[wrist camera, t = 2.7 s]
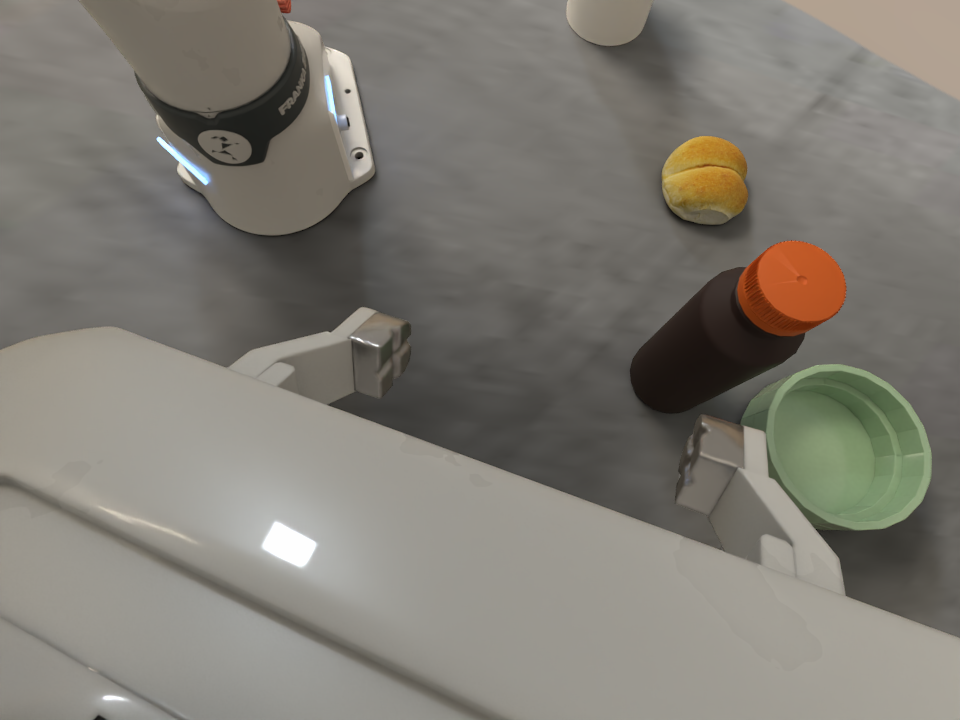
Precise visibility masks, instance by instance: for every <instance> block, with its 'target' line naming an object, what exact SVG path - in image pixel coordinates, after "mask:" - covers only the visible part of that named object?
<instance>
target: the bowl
mask: <svg viewBox="0 0 960 720" xmlns="http://www.w3.org/2000/svg"><path fill="white" fill-rule="evenodd" d="M740 425H741V426H742V425H744V426H747V427H751V428H754V429H758V430H761V431H764V432H765V434H766V444H767V459H768V473H769V478H772V479H775V480H776V482H777V483H778V484H779V485H780V487H781V488H782V489H783V490H784V491H785V493H786V494H787V495H788V496H789V498H790V499H791V500H792V501H793V502H794V504H795V505H796V506H797V507H798V509H799V510H800V511H801V512H802V514H803V515H804V516H805V517H806V518H807V520H808V521H809V522H810V523H811V525H812V526H813V527H814V528H815V529H819V530H877V529H884V528H887V527H889V526H891V525H893V524H896V523H898V522H900V521H903V520H905V519H906V518H907V517H908V516H909V515H910V514H911V513H912V512H913V511H914V510H915V509H916V508H917V507H918V506H919V504H920V503H921V502H922V501H923V498H924V496H925V493H926V491H927V488H928V486H929V483H930V480H931V463H932V453H931V449H930V445H929V442H928V439H927V435H926V432H925V428H924V426H923V424H922V423H921V421H920V420H919V418H918V416H917V415H916V413H915V411H914V410H913V408H912V406H911V405H910V404H909V402H908V401H907V400H906V399H905V398H903V397H902V396H901V395H900V394H899V393H898V392H897V391H896V390H895V389H894V388H893V387H892V386H891V385H890V384H889V383H887V382H885V381H883V380H882V379H880V378H878V377H876V376H875V375H873V374H871V373H869V372H868V371H865V370H861V369H858V368H854V367H850V366H846V365H842V364H832V365H816V366H813V367H810V368H808V369H805V370H803V371H800V372H797V373H795V374H793V375H791V376H788V377H786V378H784V379H782V380H779V381H777V382H775V383H773V384H771V385H768V386H766V387H765V388H764V389H763V390H762V391H761V392H759V393H758V394H757V395H756V396H755V397H754V398H753V399H752V400H751V401H750V403H749V405H748V407H747V409H746V411H745V413H744V415H743V417H742V419H741V424H740Z"/></svg>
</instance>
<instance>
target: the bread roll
mask: <svg viewBox="0 0 960 720" xmlns="http://www.w3.org/2000/svg"><path fill="white" fill-rule="evenodd" d="M746 174H747V163H746V161H745V158H744V156H743V154H742V153H741V151H740V150H739V149H738V148H737V147H736V146H734V145H733V144H732V143H730V142H728V141H726V140H724V139H721V138H717V137H711V136H701V137H696V138H693V139H691V140H689V141H687V142H685V143H684V144H682V145H681V146H680V147H678V148H677V149H676V150H675V151H674V152H673V153H672V154H671V155H670V156H669V158H668V159H667V161H666V163H665V165H664V167H663V170H662V181H663V182H662V191H663V195H664V198H665V201H666V203H667V204H668V206H669V207H670V209H671V210H672V211H673V212H674V213H675V214H676V215H678V216H679V217H681V218H682V219H684V220H688V221H692V222H696V223H699V224H711V225H716V224H723V223H726V222H727V221H728V220H729V219H731V218H732V217H734V216H736V215H737V214H739V213H740V212H741V211H742V210H743V208H744V206H745V204H746V202H747V198H748V191H747V188H746V186H745V184H744V182H743V181H744V179H745V177H746Z"/></svg>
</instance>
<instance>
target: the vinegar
mask: <svg viewBox="0 0 960 720" xmlns="http://www.w3.org/2000/svg"><path fill="white" fill-rule="evenodd" d="M845 284H846V283H845V279H844V275H843V272H842V271H841V269H840V268H839V265H838V264H837V262H835V261H834V259H832V258H831V256H829V255H828V254H827V253H826V252H825V251H823V250H822V249H820V248H818V247H816V246H815V245H811V244H808V243H804V242H800V241H798V242H796V240H795V241H792V240H791V241H787V242H785V241H784V242H783V243H782V242H780V243H779V244H778V243H777V244H776V245H773V246H771V247H770V248H768V249H767V250H766V251H764V252H763V253H762V254H761V255H760V256H759V257H758V258H757V259H756V260H754V261H753V262H752V263H751V264H750V265H749V266H748V267H738V268H734V269H731V270H727V271H724V272H721V273H720V274H719V275H717V276H716V277H714V278H713V279H712V280H710V281H709V282H708V283H707V284H706V285H705V286H704V287H703V288H702V289H701V290H700V291H699V292H698V293H697V294H695V295H694V296H693V297H692V298H691V299H690V300H689V301H688V302H687V303H686V304H685V305H684V306H683V307H682V308H681V309H680V310H679V311H678V312H677V313H676V314H675V315H674V316H673V317H672V318H671V319H670V320H669V321H668V322H667V323H666V324H665V325H664V326H663V327H662V328H661V329H660V330H659V331H658V332H657V333H656V334H655V335H654V336H653V337H652V338H651V339H650V340H649V341H648V342H646V343H645V344H644V345H643V346H642V347H641V348H640V349H639V351H638V352H637V354H636V355H635V357H634V358H633V361H632V365H631V369H630V374H631V383H632V385H633V388H634V390H635V392H636V394H637V395H638V396H639V397H640V399H641V400H642V401H643V402H644V403H645V404H647V405H648V406H650V407H651V408H653V409H655V410H658V411H661V412H664V413H680V412H683V411H686V410H689V409H691V408H693V407H695V406H697V405H699V404H701V403H703V402H705V401H707V400H709V399H711V398H713V397H715V396H717V395H719V394H721V393H723V392H725V391H727V390H729V389H731V388H733V387H735V386H737V385H739V384H741V383H743V382H745V381H747V380H749V379H751V378H753V377H755V376H757V375H759V374H761V373H763V372H766V371H768V370H770V369H772V368H774V367H776V366H778V365H780V364H782V363H783V362H784V361H786V360H787V359H788V358H789V357H791V356H792V355H793V354H795V353H796V351H797V350H798V348H799V346H800V345H801V343H802V341H803V340H804V336H805V332H807V331H809V330H811V329H812V328H814V327H816V326H818V325H819V324H821V323H823V322H825V321H827V320H828V319H830V318H832V317H833V316H834V315H836V313H838V311H839V310H840V308H841V307H842V306H841V305H843V304H844V303H843V302H844V301H845V300H844V299H845V298H846V297H845V295H846V293H845V292H846V291H847V290H846V285H845Z"/></svg>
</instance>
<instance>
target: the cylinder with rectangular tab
mask: <svg viewBox="0 0 960 720" xmlns="http://www.w3.org/2000/svg"><path fill="white" fill-rule="evenodd" d="M653 1H654V0H568V3H567V10H566V15H567V20H568V23H569V24H570V26H571V28H572V29H573V30H574V31H575V32H576V33H577V34H578V35H579V36H580V37H582V38H583V39H585V40H587V41H589V42H592V43H594V44H597V45H604V46H616V45H621V44H625V43H628V42H630V41H631V40H633V39H635V38H636V37H637V36H638V35H639V34H640V33H641V32H642V30H643V27H644V25H645V23H646V20H647V17H648V14H649V12H650V9H651V6H652V3H653Z"/></svg>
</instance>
